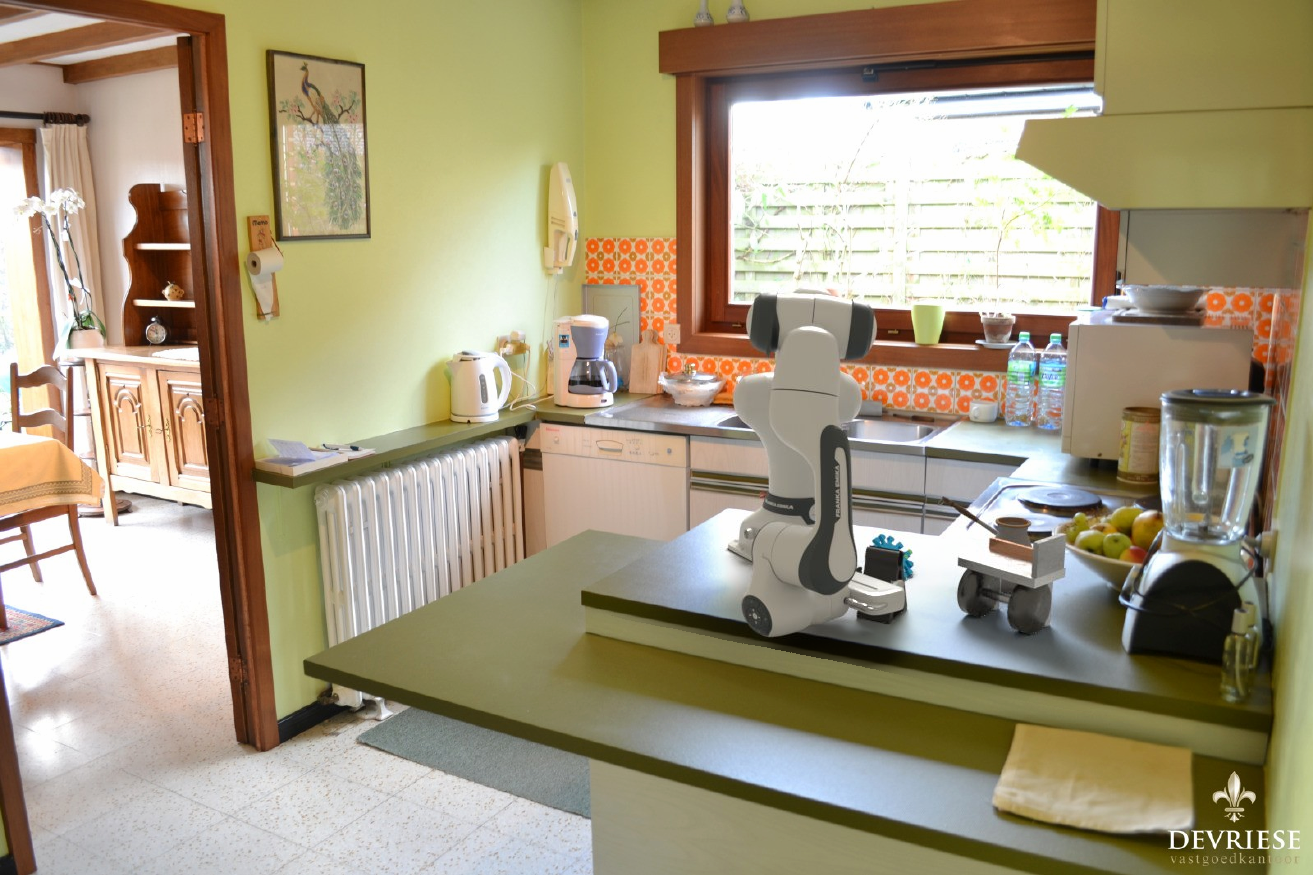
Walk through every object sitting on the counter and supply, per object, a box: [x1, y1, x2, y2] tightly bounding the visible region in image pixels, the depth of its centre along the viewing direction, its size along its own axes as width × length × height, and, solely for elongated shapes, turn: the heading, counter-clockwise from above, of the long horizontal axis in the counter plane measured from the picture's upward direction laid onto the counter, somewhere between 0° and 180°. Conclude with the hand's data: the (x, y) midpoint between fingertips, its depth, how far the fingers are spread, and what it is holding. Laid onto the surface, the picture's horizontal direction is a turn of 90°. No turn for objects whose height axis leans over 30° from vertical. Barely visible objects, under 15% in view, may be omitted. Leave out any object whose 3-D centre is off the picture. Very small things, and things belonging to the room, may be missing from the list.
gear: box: [871, 533, 915, 580], centre depth 202 cm, size 11×6×10 cm
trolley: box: [956, 532, 1067, 635], centre depth 175 cm, size 15×10×17 cm
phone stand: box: [856, 544, 908, 625], centre depth 180 cm, size 9×6×12 cm, turn 146°
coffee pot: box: [937, 496, 1033, 594], centre depth 196 cm, size 21×12×15 cm, turn 44°
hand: (879, 576), depth 179 cm, fingers open, 8 cm apart
